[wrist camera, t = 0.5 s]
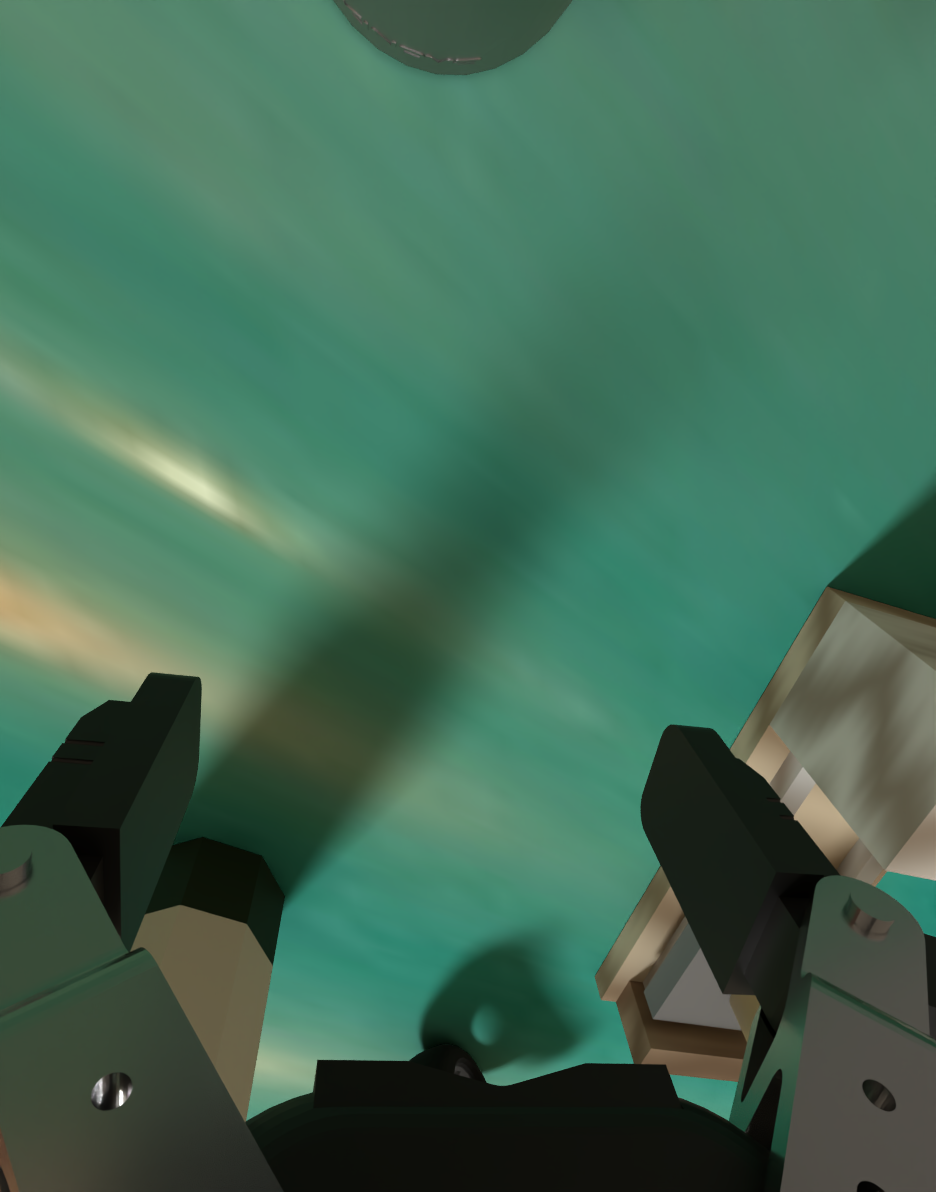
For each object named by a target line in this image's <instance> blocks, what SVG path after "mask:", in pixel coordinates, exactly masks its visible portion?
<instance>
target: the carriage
mask: <svg viewBox="0 0 936 1192" xmlns="http://www.w3.org/2000/svg"><path fill="white" fill-rule="evenodd" d="M644 994H645V997H646V1000H647V1003H648V1006H649V1009H650V1012H651V1015H652V1018H653V1019H656V1020H664V1021H671V1022H679V1023H687V1024H695V1025H702V1026H710V1027H718V1028H725V1029H733V1030H741V1031H742V1032H743V1034H744V1037H745V1039H746V1041H747V1042H748V1037H749V1033H750V1029H751V1025H752V1021H753V1019H754V1016H755V1014H756V1012H757V1010H758V1008H759V1006H760V1004H759V1002H758V1000H757V998H756V996H755V995H730V994H722V992H721V990H720V988H719V986H718V984H717V981H716V979H715V977H714V975H713V973H712V971H711V969H710V967H709V965H708V963H707V961H706V959H705V956H704V954H703V952H702V950H701V948H700V946H699V944H698V942H697V940H696V938H695V936H694V934H693V931H692V929H691V927H690V925H689V923H688V924H687V925H686V927H685V928H684V930H683V932H682V933H681V935H680V936H679V938H678V939H677V941H676V942H675V944H674V946H673V947H672V949H671V950H670V952H669V953H668V955H667V956H666V958H665V959H664V961H663V963H662V964H661V966H660V967H659V969H658V970H657V972H656V973H655V975H654V977H653V978H652V980H651V981H650V983H649V984H648V986H647V987H646V989H645V990H644Z"/></svg>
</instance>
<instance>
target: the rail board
mask: <svg viewBox="0 0 936 1192" xmlns="http://www.w3.org/2000/svg"><path fill="white" fill-rule="evenodd" d="M730 751H731V752H732V754H733V755H734V756H735V757H736V758H739V759H740V760H742V761H743V762H744V763H746V764H747V765H748V766H750V767H751V768H752V769H753V770H755V771H756V772H757V773H759V774H760V775H761V776H763V777H764V778H765V779H766V781H767V782H768V783H769V785H770V786H771V787H772V788H773V790H774V791H775V792H776V793H777V795H778V796H779V797H780V802H781V803H784V804H785V805H786V806H787V808H788V809H789V810H790V811H791V813H792V814H793V815H794V820H798V822H799V823H800V824H801V825H802V827H803V828H804V829H805V831H806V832H807V833H808V834H809V836H810V837H811V838H812V839H813V841H814V842H815V843H816V845H817V846H818V847H819V848H820V850H821V851H822V852H823V853H824V855H825V856H826V857H827V859H828V860H829V861H830V862H831V864H832V865H833V866H834V868H835V869H836V870H837V871H838V873H839V874H840V875H841V876H846V877H851V878H855V879H858V880H861V881H863V882H866V883H868V884H871V885H872V886H874V887H875V886H876V885H877V884H878V882H879V881H880V880H881V878H882V877H883V876H884V874H885V873H886V872H887V871H890V872H895V873H900V874H905V875H910V876H915V877H921V878H926V879H931V880H936V619H933V618H930V617H927V616H923V615H920V614H917V613H913V612H910V611H907V610H903V609H900V608H897V607H893V606H890V605H887V604H883V603H880V602H877V601H873V600H870V599H867V598H863V597H860V596H857V595H853V594H850V593H847V592H843V591H840V590H837V589H833V588H830V587H826V589H825V591H824V592H823V594H822V596H821V597H820V599H819V601H818V602H817V604H816V606H815V607H814V609H813V611H812V612H811V614H810V616H809V617H808V619H807V621H806V622H805V624H804V626H803V628H802V629H801V631H800V633H799V634H798V636H797V638H796V639H795V641H794V643H793V644H792V646H791V648H790V649H789V651H788V653H787V654H786V656H785V658H784V659H783V661H782V663H781V665H780V666H779V668H778V670H777V671H776V673H775V675H774V676H773V678H772V680H771V681H770V683H769V685H768V686H767V688H766V690H765V691H764V693H763V695H762V696H761V698H760V700H759V701H758V703H757V705H756V707H755V708H754V710H753V712H752V713H751V715H750V717H749V718H748V720H747V722H746V723H745V725H744V727H743V728H742V730H741V732H740V733H739V735H738V737H737V738H736V740H735V742H734V744H733V745H732V747H731V749H730ZM687 924H688V921H687V919H686V917H685V915H684V913H683V911H682V909H681V906H680V904H679V902H678V900H677V898H676V896H675V894H674V892H673V890H672V888H671V886H670V884H669V881H668V879H667V877H666V875H665V873H664V871H663V869H662V867H661V866H660V868H659V870H658V871H657V873H656V875H655V876H654V878H653V880H652V881H651V883H650V885H649V886H648V888H647V890H646V892H645V893H644V895H643V897H642V898H641V900H640V902H639V903H638V905H637V907H636V908H635V910H634V912H633V913H632V915H631V917H630V918H629V920H628V922H627V923H626V925H625V927H624V928H623V930H622V932H621V934H620V935H619V937H618V939H617V940H616V942H615V944H614V945H613V947H612V949H611V950H610V952H609V954H608V955H607V957H606V959H605V960H604V962H603V964H602V965H601V967H600V969H599V971H598V972H597V974H596V976H595V979H596V983H597V987H598V990H599V994H600V998H601V1000H607V1001H614V1002H616V1004H617V1007H618V1010H619V1014H620V1017H621V1021H622V1024H623V1028H624V1031H625V1034H626V1038H627V1041H628V1045H629V1048H630V1051H631V1055H632V1058H633V1062H634V1064H666V1066H667V1069H668V1072H669V1074H672V1075H681V1076H690V1077H699V1078H708V1079H717V1080H726V1081H735V1082H738V1080H739V1076H740V1071H741V1067H742V1063H743V1059H744V1054H745V1050H746V1046H747V1041H746V1039H745V1037H744V1034H743V1032H742V1031H741V1030H733V1029H725V1028H718V1027H710V1026H702V1025H695V1024H687V1023H679V1022H671V1021H664V1020H656V1019H653V1018H652V1015H651V1012H650V1009H649V1006H648V1003H647V1000H646V997H645V994H644V990H645V989H646V987H647V986H648V984H649V983H650V981H651V980H652V978H653V977H654V975H655V973H656V972H657V970H658V969H659V967H660V966H661V964H662V963H663V961H664V959H665V958H666V956H667V955H668V953H669V952H670V950H671V949H672V947H673V946H674V944H675V942H676V941H677V939H678V938H679V936H680V935H681V933H682V932H683V930H684V928H685V927H686V925H687Z"/></svg>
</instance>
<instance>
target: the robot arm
mask: <svg viewBox="0 0 936 1192" xmlns="http://www.w3.org/2000/svg"><path fill="white" fill-rule="evenodd" d="M333 1H334V2H335V3H336V5H337V6H338V7H339V9H340V10H341V11H342V13H343V14H344V15H345V17H346V18H347V19H348V21H349V22H350V23H351V25H352V26H353V27H354V28H355V29H356V30H358V31H359V32H360V33H361V34H362V35H363V36H364V37H365V38H366V39H368V40H369V41H370V42H371V43H372V44H373V45H374V46H375V47H376V48H377V49H379V50H380V51H382V52H384V53H386V54H387V55H389V56H391V57H393V58H394V59H396V60H398V61H400V62H401V63H403V64H405V65H407V66H410V67H413V68H417V69H420V70H423V71H427V72H430V73H434V74H444V75H469V74H473V73H478V72H482V71H486V70H491V69H495V68H497V67H499V66H501V65H503V64H505V63H507V62H509V61H511V60H512V59H514V58H516V57H518V56H520V55H522V54H524V53H525V52H526V51H527V50H528V49H529V48H531V47H532V46H533V45H534V44H535V43H536V42H538V41H539V40H540V39H541V38H542V37H543V36H545V35H546V34H547V33H548V32H549V31H550V29H551V28H552V27H553V25H554V24H555V23H556V21H557V20H558V19H559V17H560V16H561V15H562V14H563V12H564V11H565V10H566V8H567V7H568V6H569V4H570V3H571V1H572V0H333ZM201 693H202V687H201V679H200V678H199V677H193V676H183V675H173V674H163V673H153V672H152V673H150V674H149V675H148V676H147V677H146V679H145V681H144V682H143V684H142V685H141V687H140V688H139V690H138V692H137V693H136V695H135V696H134V698H133V699H132V701H131V702H125V701H114V700H108V701H107V702H105V703H104V704H102V705H100V706H99V707H97V708H96V709H94V710H92V711H91V712H89V713H87V714H86V715H84V716H83V717H81V718H80V720H79V721H78V722H77V724H76V725H75V727H74V728H73V729H72V731H71V732H70V733H69V735H68V736H67V738H66V740H65V743H62V744H61V746H60V747H59V748H58V750H57V751H56V753H55V754H54V755H53V757H52V761H51V762H48V763H47V765H46V766H45V768H44V769H43V770H42V772H41V773H40V774H39V776H38V777H37V778H36V780H35V781H34V783H33V784H32V785H31V787H30V788H29V789H28V791H27V792H26V793H25V795H24V796H23V798H22V799H21V800H20V802H19V803H18V804H17V806H16V807H15V809H14V810H13V811H12V813H11V814H10V815H9V817H8V818H7V819H6V821H5V822H4V824H3V825H2V826H1V827H0V1192H936V937H933V936H930V935H927V934H924V933H923V931H922V929H921V927H920V925H919V924H918V922H917V921H916V919H915V918H914V917H913V916H912V914H911V913H910V912H909V911H908V910H907V909H906V908H905V907H904V906H902V905H901V904H900V903H899V902H898V901H897V900H895V899H894V898H892V897H891V896H890V895H888V894H887V893H885V892H883V891H882V890H880V889H878V888H876V887H874V886H872V885H871V884H868V883H866V882H863V881H861V880H858V879H855V878H851V877H846V876H841V875H840V874H839V873H838V871H837V870H836V869H835V868H834V866H833V865H832V864H831V862H830V861H829V860H828V859H827V857H826V856H825V855H824V853H823V852H822V851H821V850H820V848H819V847H818V846H817V845H816V843H815V842H814V841H813V839H812V838H811V837H810V836H809V834H808V833H807V832H806V831H805V829H804V828H803V827H802V825H801V824H800V823H799V822H798V820H794V815H793V814H792V813H791V811H790V810H789V809H788V808H787V806H786V805H785V804H784V803H781V802H780V797H779V796H778V795H777V793H776V792H775V791H774V790H773V788H772V787H771V786H770V785H769V783H768V782H767V781H766V779H765V778H764V777H763V776H761V775H760V774H759V773H757V772H756V771H755V770H753V769H752V768H751V767H750V766H748V765H747V764H746V763H744V762H743V761H742V760H740V759H739V758H736V757H735V756H734V755H733V754H732V752H731V751H730V750H729V748H728V747H727V746H726V744H725V743H724V742H723V740H722V739H721V738H720V736H719V735H718V734H717V732H716V731H715V730H713V729H711V728H703V727H693V726H682V725H669V726H668V727H667V728H666V729H665V730H664V732H663V734H662V736H661V739H660V742H659V745H658V748H657V751H656V754H655V757H654V760H653V764H652V767H651V770H650V773H649V776H648V779H647V782H646V785H645V788H644V791H643V794H642V799H641V821H642V825H643V829H644V831H645V834H646V836H647V838H648V840H649V842H650V844H651V846H652V848H653V850H654V852H655V854H656V856H657V859H658V861H659V863H660V865H661V867H662V869H663V871H664V873H665V875H666V877H667V879H668V881H669V884H670V886H671V888H672V890H673V892H674V894H675V896H676V898H677V900H678V902H679V904H680V906H681V909H682V911H683V913H684V915H685V917H686V919H687V921H688V923H689V925H690V927H691V929H692V931H693V934H694V936H695V938H696V940H697V942H698V944H699V946H700V948H701V950H702V952H703V954H704V956H705V959H706V961H707V963H708V965H709V967H710V969H711V971H712V973H713V975H714V977H715V979H716V981H717V984H718V986H719V988H720V990H721V992H722V994H730V995H755V996H756V998H757V1000H758V1002H759V1004H760V1006H759V1008H758V1010H757V1012H756V1014H755V1016H754V1019H753V1021H752V1025H751V1029H750V1033H749V1037H748V1042H747V1046H746V1050H745V1054H744V1059H743V1063H742V1067H741V1071H740V1076H739V1080H738V1084H737V1088H736V1093H735V1097H734V1101H733V1105H732V1110H731V1114H730V1118H729V1121H728V1120H726V1119H724V1118H722V1117H721V1116H719V1115H717V1114H715V1113H713V1112H711V1111H709V1110H708V1109H706V1108H704V1107H701V1106H699V1105H697V1104H694V1103H692V1102H689V1101H687V1100H684V1099H681V1098H678V1097H677V1094H676V1091H675V1088H674V1086H673V1083H672V1080H671V1077H670V1075H669V1072H668V1069H667V1066H666V1064H597V1063H585V1064H582V1065H578V1066H575V1067H571V1068H568V1069H564V1070H561V1071H557V1072H554V1073H551V1074H547V1075H544V1076H540V1077H537V1078H533V1079H530V1080H526V1081H523V1082H520V1083H516V1084H513V1085H508V1086H497V1085H492V1084H489V1083H485V1082H481V1081H478V1080H474V1079H471V1078H467V1077H464V1076H460V1075H456V1074H453V1073H449V1072H446V1071H442V1070H439V1069H435V1068H431V1067H428V1066H424V1065H421V1064H417V1063H414V1062H410V1061H361V1060H317V1067H316V1075H315V1082H314V1089H313V1092H312V1093H309V1094H306V1095H302V1096H299V1097H296V1098H293V1099H290V1100H288V1101H285V1102H283V1103H281V1104H278V1105H276V1106H273V1107H271V1108H269V1109H267V1110H265V1111H263V1112H262V1113H260V1114H258V1115H256V1116H255V1117H253V1118H251V1119H249V1120H247V1121H246V1122H245V1121H244V1119H243V1118H242V1116H241V1114H240V1112H239V1110H238V1109H237V1107H236V1105H235V1103H234V1101H233V1100H232V1098H231V1096H230V1094H229V1092H228V1091H227V1089H226V1087H225V1085H224V1083H223V1082H222V1080H221V1078H220V1076H219V1074H218V1073H217V1071H216V1069H215V1067H214V1065H213V1063H212V1062H211V1060H210V1058H209V1056H208V1054H207V1053H206V1051H205V1049H204V1047H203V1045H202V1044H201V1042H200V1040H199V1038H198V1036H197V1035H196V1033H195V1031H194V1029H193V1027H192V1026H191V1024H190V1022H189V1020H188V1018H187V1017H186V1015H185V1013H184V1011H183V1009H182V1008H181V1006H180V1004H179V1002H178V1000H177V999H176V997H175V995H174V993H173V991H172V990H171V988H170V986H169V984H168V982H167V980H166V979H165V977H164V975H163V973H162V971H161V970H160V968H159V966H158V964H157V963H156V961H155V959H154V958H153V956H152V955H151V954H150V953H149V952H148V951H147V950H146V949H145V948H143V947H140V948H137V949H135V950H133V951H131V948H132V946H133V943H134V941H135V938H136V936H137V933H138V931H139V928H140V925H141V923H142V920H143V918H144V915H145V913H146V910H147V908H148V905H149V903H150V900H151V898H152V895H153V893H154V890H155V887H156V885H157V882H158V880H159V877H160V875H161V872H162V870H163V867H164V865H165V862H166V860H167V857H168V855H169V852H170V850H171V847H172V844H173V842H174V839H175V837H176V834H177V832H178V829H179V827H180V824H181V822H182V819H183V817H184V814H185V812H186V809H187V806H188V804H189V801H190V799H191V796H192V793H193V790H194V786H195V781H196V776H197V770H198V763H199V744H200V718H201ZM130 951H131V952H130Z"/></svg>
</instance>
